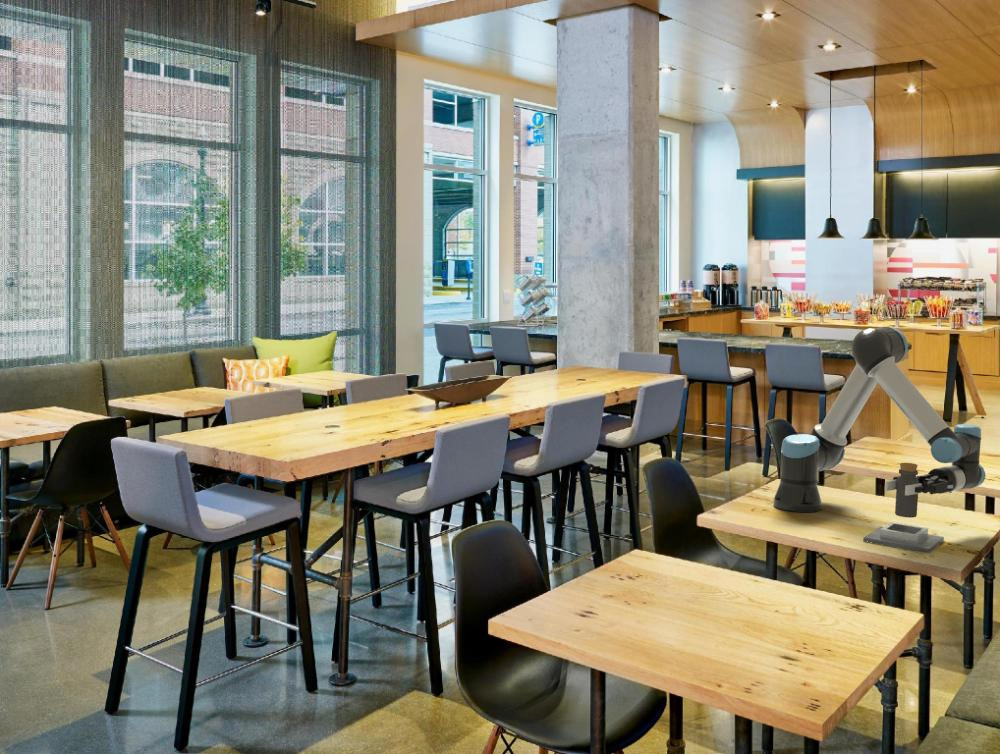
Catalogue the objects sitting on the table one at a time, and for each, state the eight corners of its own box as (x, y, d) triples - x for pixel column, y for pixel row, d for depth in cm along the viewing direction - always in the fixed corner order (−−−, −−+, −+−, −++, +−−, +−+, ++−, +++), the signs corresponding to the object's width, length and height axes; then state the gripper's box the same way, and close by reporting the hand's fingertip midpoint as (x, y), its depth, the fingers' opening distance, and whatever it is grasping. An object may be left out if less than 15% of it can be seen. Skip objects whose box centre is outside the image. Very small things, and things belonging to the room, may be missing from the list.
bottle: (892, 515, 283) (895, 464, 281) (898, 511, 287) (901, 461, 286) (913, 518, 279) (916, 467, 278) (919, 514, 284) (922, 463, 282)
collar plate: (863, 541, 284) (864, 528, 283) (880, 530, 296) (881, 518, 296) (928, 553, 273) (929, 540, 272) (943, 540, 285) (944, 528, 285)
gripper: (974, 498, 284) (925, 508, 272) (916, 485, 300) (867, 494, 288) (975, 473, 284) (926, 481, 271) (917, 461, 299) (868, 469, 287)
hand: (896, 488), depth 280 cm, fingers closed on bottle, 6 cm apart
